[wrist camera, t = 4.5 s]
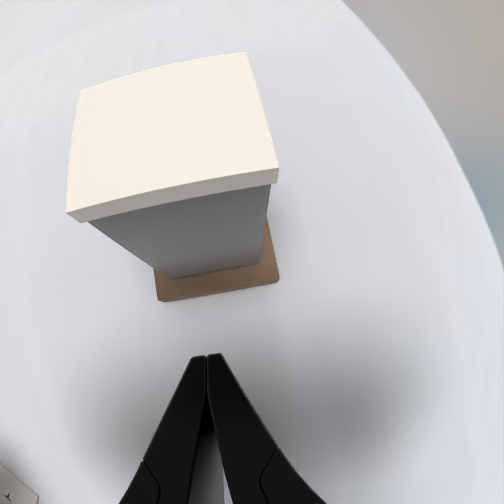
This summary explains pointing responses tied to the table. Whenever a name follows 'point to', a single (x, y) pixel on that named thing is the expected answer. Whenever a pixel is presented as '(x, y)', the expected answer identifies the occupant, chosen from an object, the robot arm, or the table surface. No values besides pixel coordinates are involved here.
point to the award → (14, 490)
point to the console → (221, 277)
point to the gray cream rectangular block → (176, 164)
